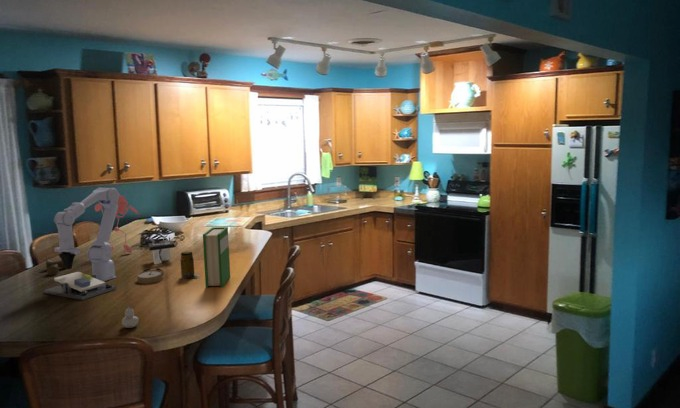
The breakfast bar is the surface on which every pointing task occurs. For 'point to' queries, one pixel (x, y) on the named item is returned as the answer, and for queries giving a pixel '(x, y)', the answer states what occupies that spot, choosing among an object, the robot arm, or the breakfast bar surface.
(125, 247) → the figurine
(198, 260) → the breakfast bar surface
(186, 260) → the condiment
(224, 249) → the hardback book
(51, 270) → the kendama
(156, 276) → the alarm clock
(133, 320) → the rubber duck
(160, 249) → the black-topped pedestal
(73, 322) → the breakfast bar surface
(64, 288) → the base
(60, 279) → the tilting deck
